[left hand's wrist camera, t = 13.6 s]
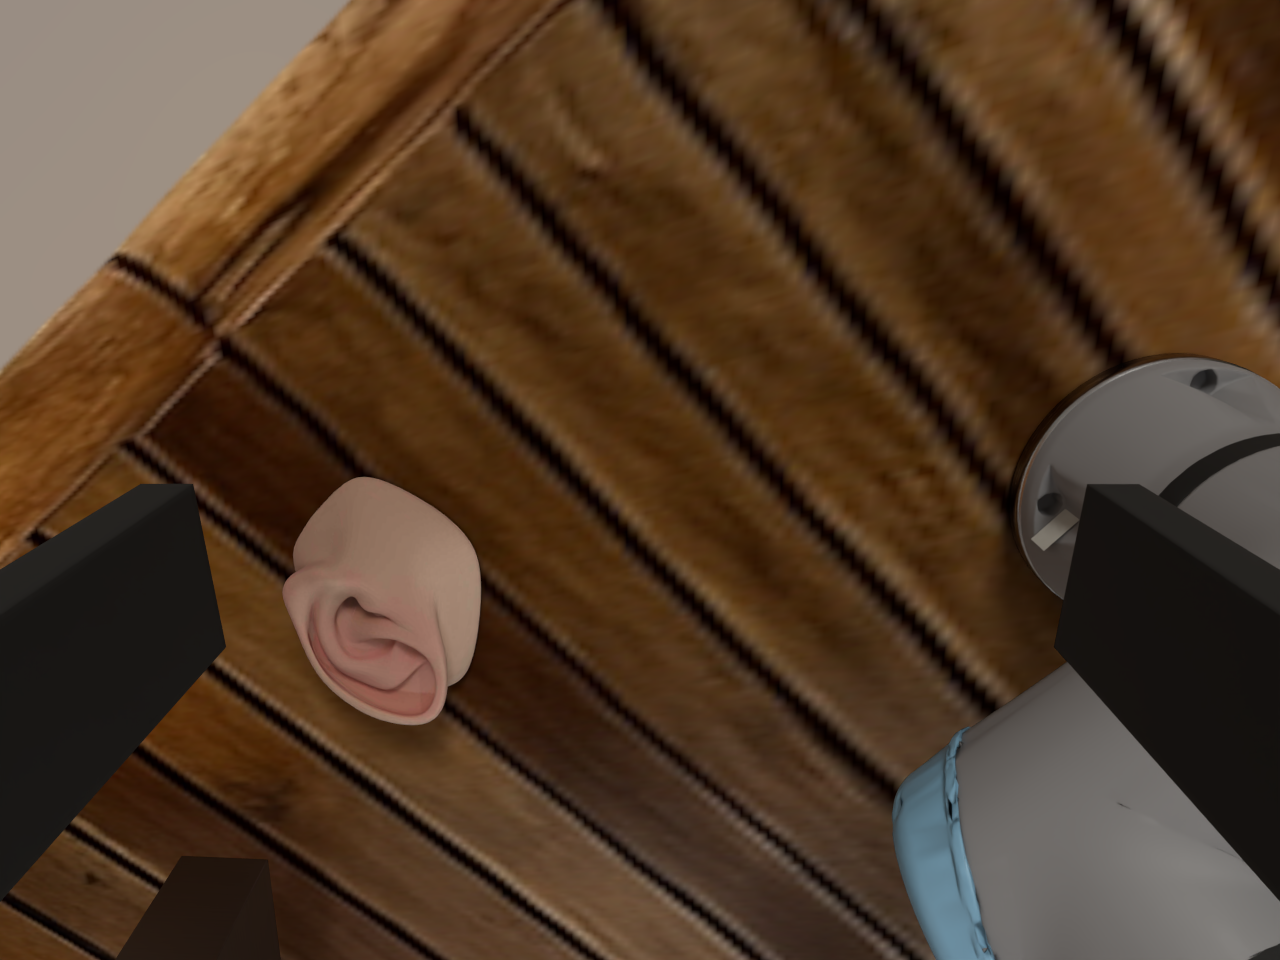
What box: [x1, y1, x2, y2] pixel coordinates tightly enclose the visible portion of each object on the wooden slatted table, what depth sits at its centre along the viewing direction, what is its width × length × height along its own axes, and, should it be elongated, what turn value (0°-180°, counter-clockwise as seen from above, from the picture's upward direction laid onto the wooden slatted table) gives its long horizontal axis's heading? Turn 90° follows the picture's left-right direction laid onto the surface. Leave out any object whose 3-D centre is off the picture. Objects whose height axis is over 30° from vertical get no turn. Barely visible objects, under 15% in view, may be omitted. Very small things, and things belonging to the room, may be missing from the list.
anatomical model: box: [283, 477, 481, 725], centre depth 46 cm, size 13×4×12 cm
